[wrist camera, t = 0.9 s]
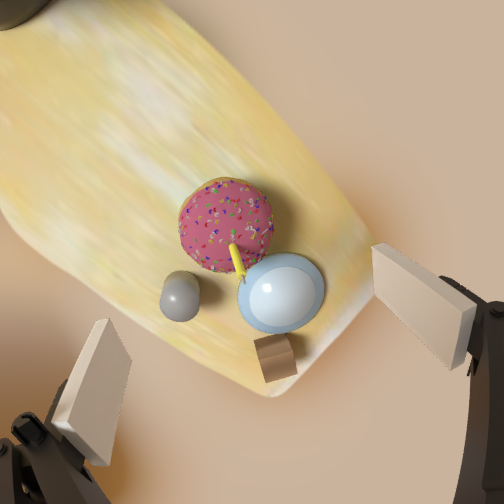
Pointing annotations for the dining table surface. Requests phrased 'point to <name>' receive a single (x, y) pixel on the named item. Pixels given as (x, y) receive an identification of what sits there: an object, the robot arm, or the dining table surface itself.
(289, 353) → the walnut block
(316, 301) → the saucer
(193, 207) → the cupcake
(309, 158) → the dining table surface
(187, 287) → the grey cylinder
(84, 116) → the dining table surface
